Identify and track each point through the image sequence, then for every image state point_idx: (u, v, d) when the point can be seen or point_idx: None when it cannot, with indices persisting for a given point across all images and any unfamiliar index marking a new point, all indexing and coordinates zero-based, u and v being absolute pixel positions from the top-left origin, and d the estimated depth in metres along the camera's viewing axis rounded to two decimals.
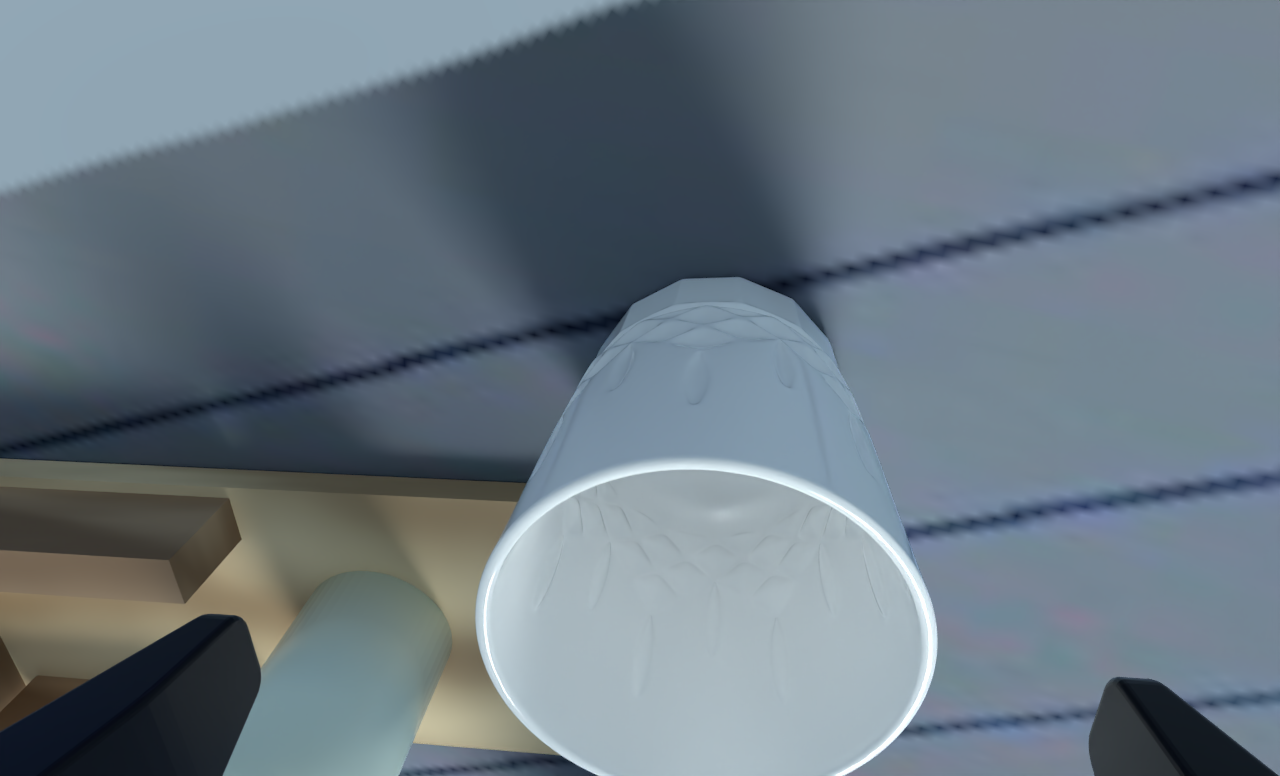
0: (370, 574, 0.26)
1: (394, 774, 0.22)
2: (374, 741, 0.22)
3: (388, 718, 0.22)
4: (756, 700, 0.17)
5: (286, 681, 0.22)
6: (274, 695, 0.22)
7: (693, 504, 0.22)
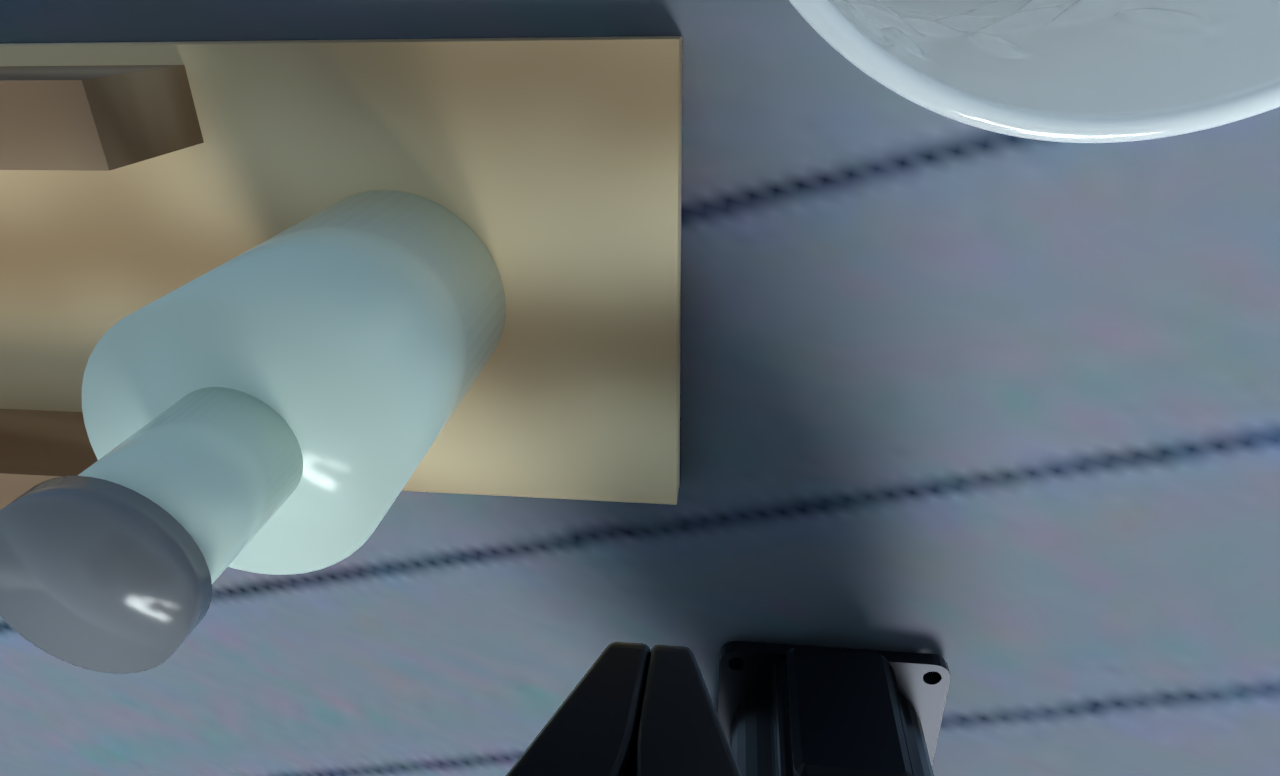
0: (390, 191, 0.18)
1: (431, 413, 0.14)
2: (401, 339, 0.14)
3: (422, 326, 0.14)
4: (1143, 55, 0.09)
5: (262, 251, 0.14)
6: (242, 260, 0.13)
7: None
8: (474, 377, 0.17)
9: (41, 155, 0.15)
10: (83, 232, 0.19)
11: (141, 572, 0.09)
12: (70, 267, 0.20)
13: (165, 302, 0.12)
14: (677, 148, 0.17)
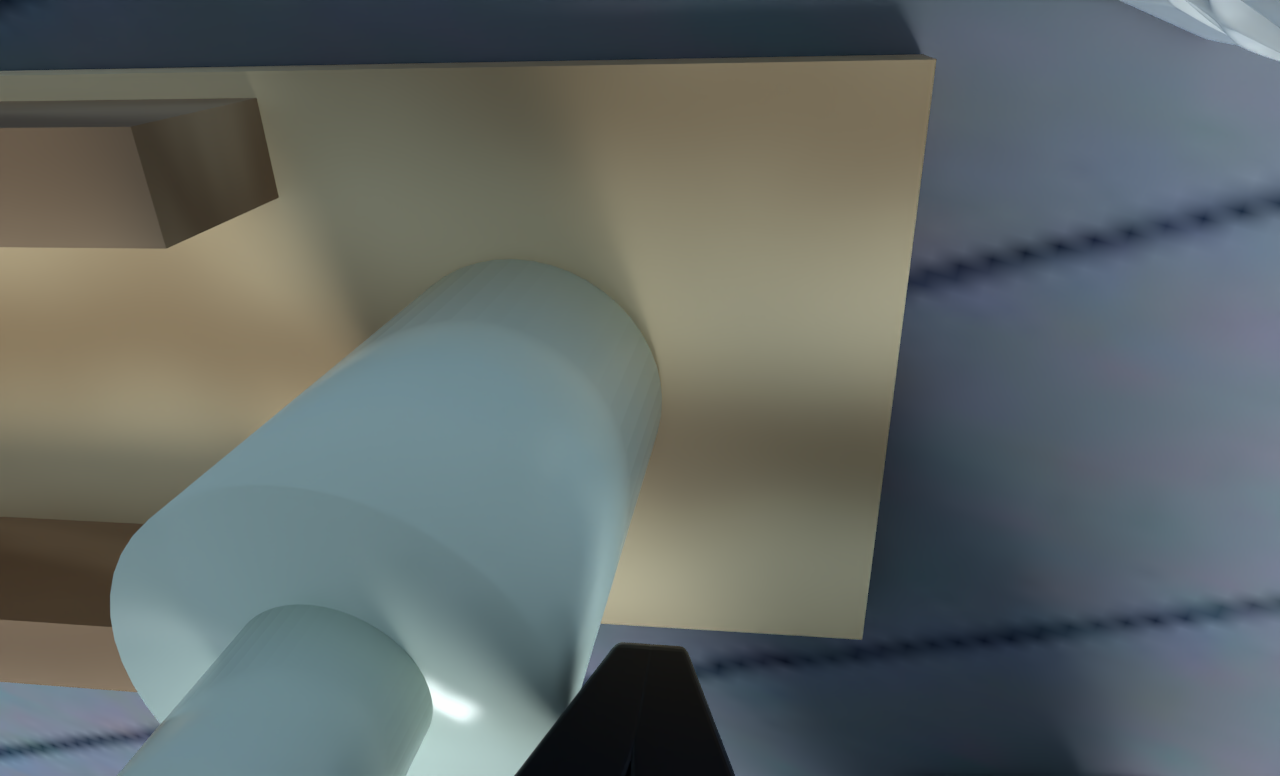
0: (521, 262, 0.13)
1: (603, 605, 0.10)
2: (570, 510, 0.09)
3: (591, 478, 0.10)
4: None
5: (370, 374, 0.10)
6: (343, 392, 0.09)
7: None
8: None
9: (72, 228, 0.11)
10: (119, 308, 0.15)
11: None
12: (102, 351, 0.15)
13: (236, 486, 0.07)
14: (917, 204, 0.12)
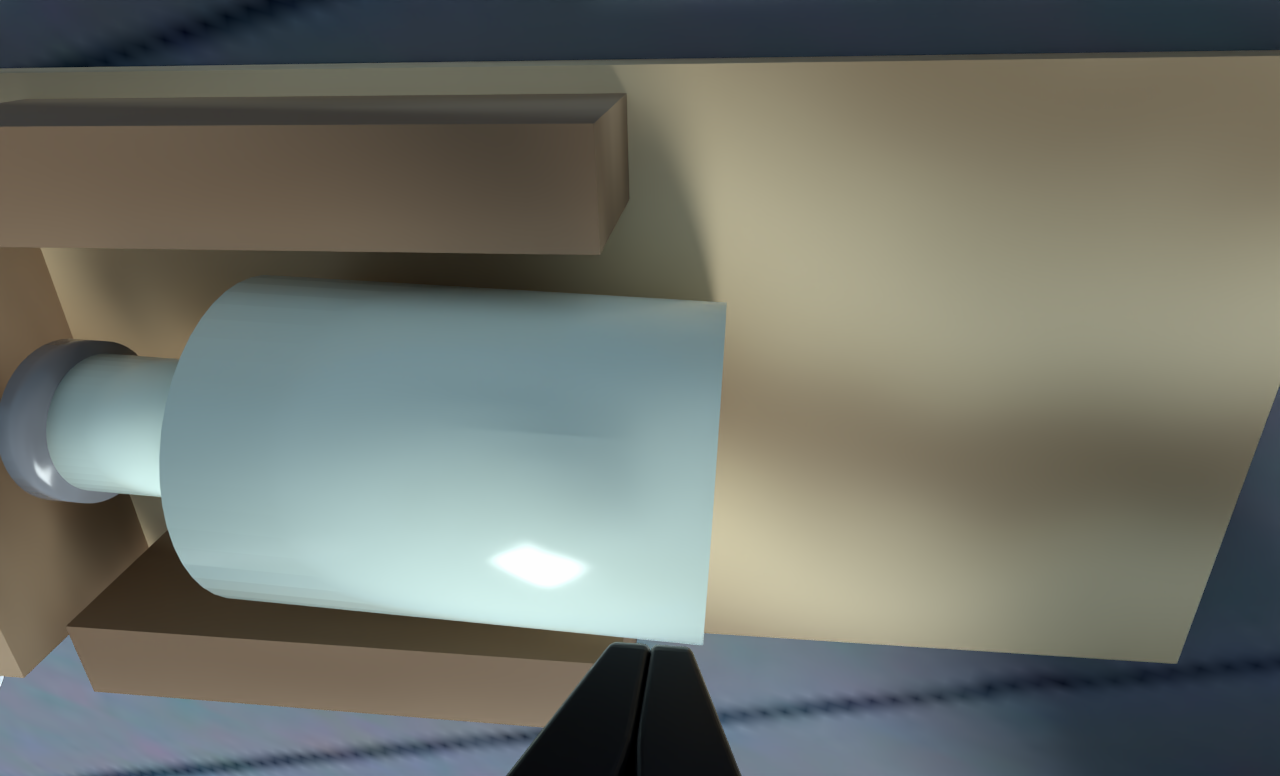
0: (715, 317, 0.11)
1: (312, 557, 0.10)
2: (296, 448, 0.10)
3: (359, 460, 0.10)
4: None
5: (410, 287, 0.12)
6: (380, 284, 0.12)
7: None
8: (551, 615, 0.11)
9: (498, 232, 0.10)
10: None
11: None
12: None
13: (257, 276, 0.12)
14: None
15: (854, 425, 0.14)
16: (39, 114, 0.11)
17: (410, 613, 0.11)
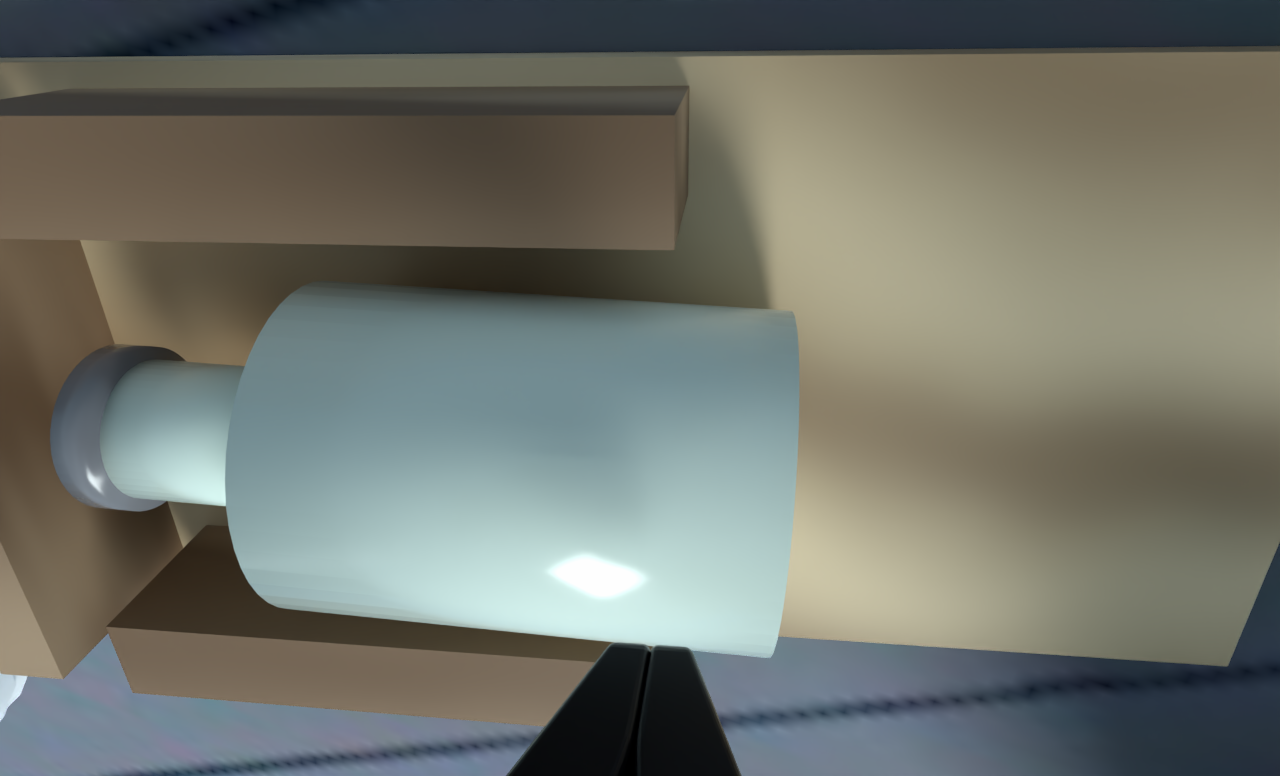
0: (786, 333, 0.11)
1: (382, 579, 0.10)
2: (365, 473, 0.10)
3: (431, 485, 0.10)
4: None
5: (467, 297, 0.11)
6: (436, 293, 0.11)
7: None
8: (620, 633, 0.11)
9: (570, 227, 0.10)
10: None
11: None
12: None
13: (308, 284, 0.12)
14: None
15: (909, 425, 0.14)
16: (92, 103, 0.11)
17: (476, 627, 0.11)
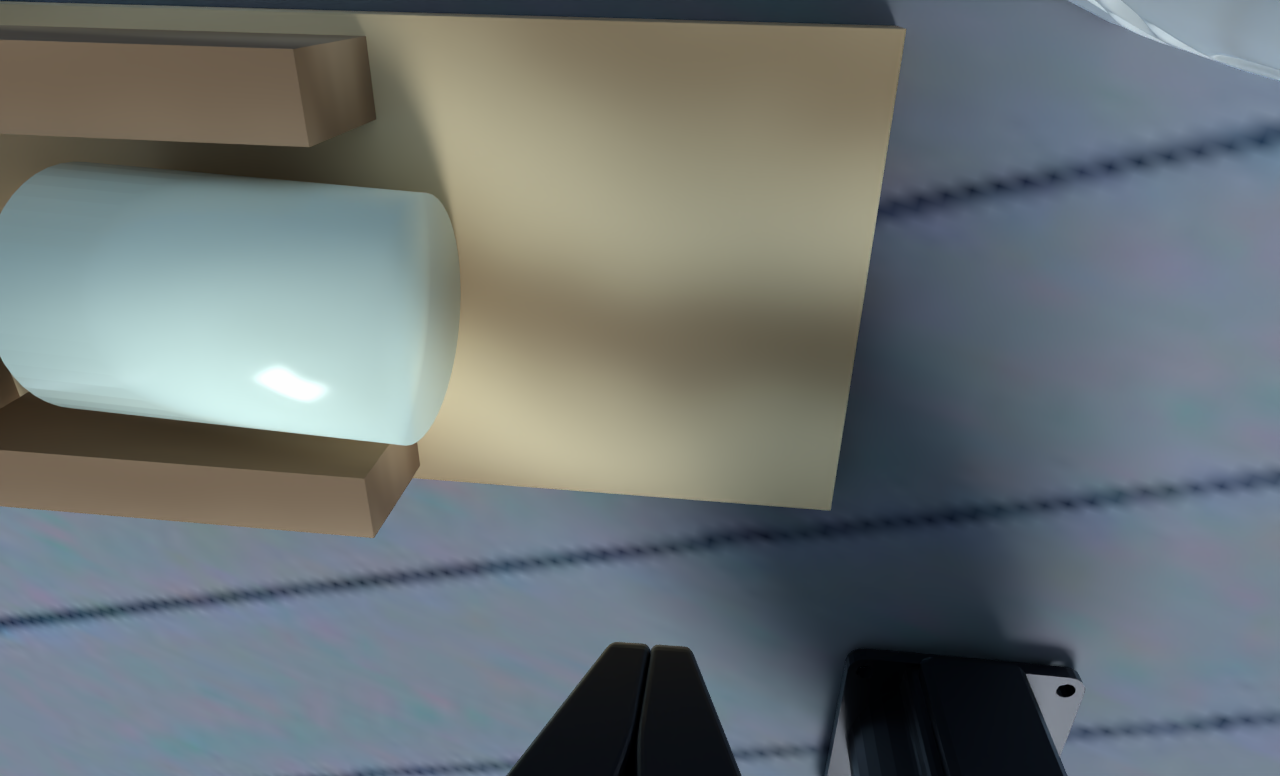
0: (404, 197, 0.15)
1: (96, 357, 0.14)
2: (82, 273, 0.14)
3: (127, 283, 0.14)
4: None
5: (191, 172, 0.16)
6: (170, 170, 0.16)
7: None
8: (274, 408, 0.15)
9: (236, 128, 0.14)
10: None
11: None
12: None
13: None
14: (887, 144, 0.16)
15: (564, 307, 0.18)
16: None
17: (179, 411, 0.15)
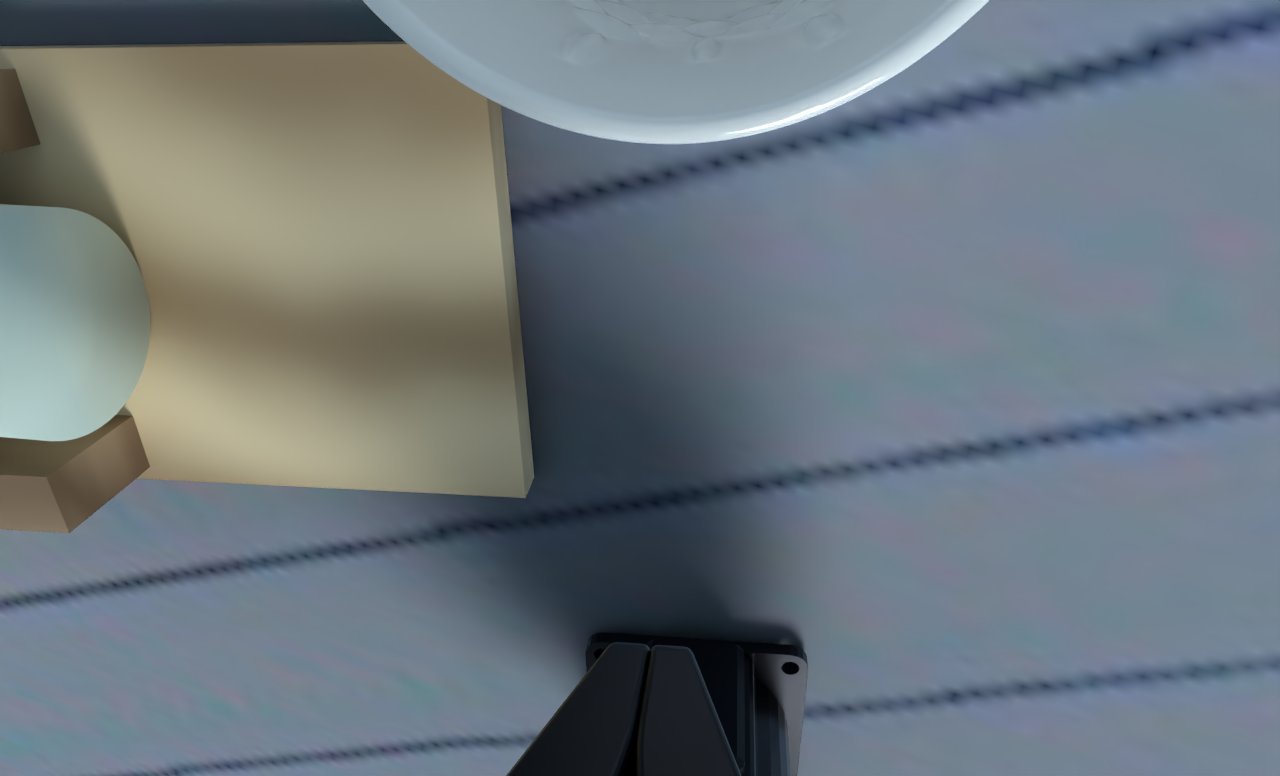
0: (24, 211, 0.16)
1: None
2: None
3: None
4: (781, 60, 0.09)
5: None
6: None
7: None
8: None
9: None
10: None
11: None
12: None
13: None
14: (490, 149, 0.17)
15: (243, 312, 0.20)
16: None
17: None
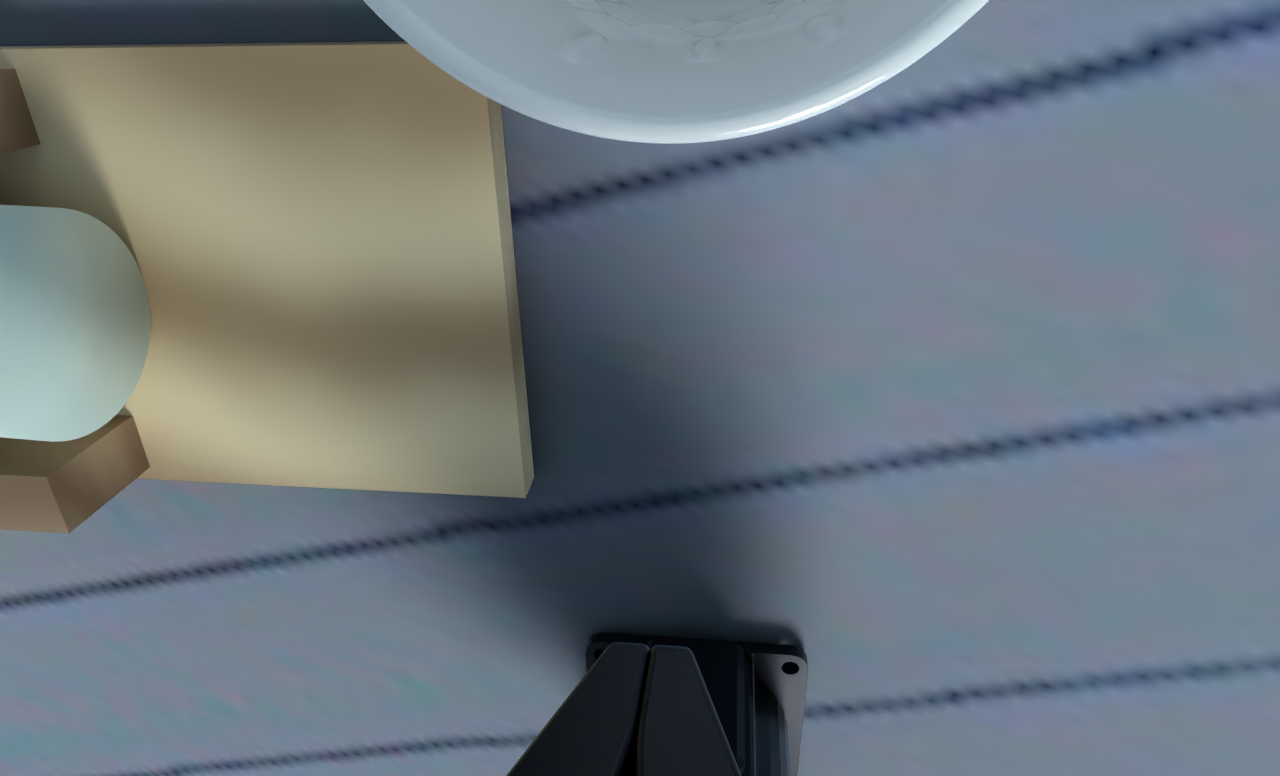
0: (24, 212, 0.16)
1: None
2: None
3: None
4: (781, 60, 0.09)
5: None
6: None
7: None
8: None
9: None
10: None
11: None
12: None
13: None
14: (490, 149, 0.17)
15: (243, 312, 0.20)
16: None
17: None
